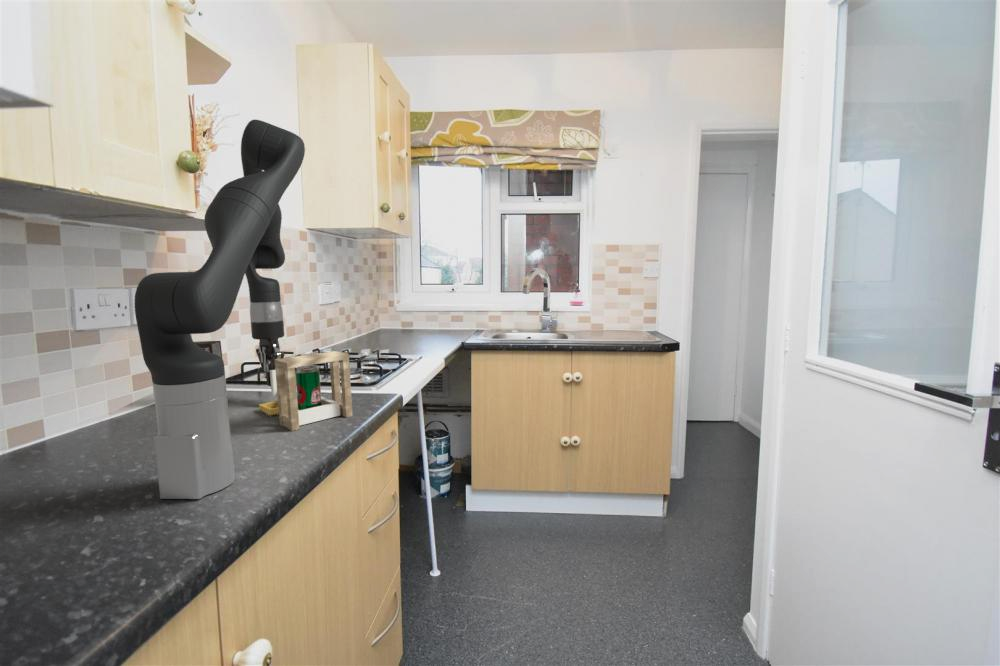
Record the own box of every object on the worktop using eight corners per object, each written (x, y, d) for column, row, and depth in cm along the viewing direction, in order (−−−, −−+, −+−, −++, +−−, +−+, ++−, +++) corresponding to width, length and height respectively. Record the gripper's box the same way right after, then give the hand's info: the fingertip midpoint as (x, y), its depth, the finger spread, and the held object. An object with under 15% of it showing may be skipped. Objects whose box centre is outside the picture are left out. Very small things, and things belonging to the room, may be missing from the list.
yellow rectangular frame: (270, 416, 108) (269, 409, 108) (259, 411, 113) (258, 404, 113) (320, 405, 117) (319, 399, 117) (307, 400, 122) (307, 394, 122)
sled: (297, 426, 101) (294, 385, 99) (260, 407, 115) (257, 372, 114) (340, 415, 108) (337, 377, 107) (299, 399, 123) (297, 366, 121)
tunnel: (292, 431, 98) (287, 362, 96) (279, 424, 102) (274, 359, 100) (352, 415, 108) (348, 353, 106) (338, 410, 112) (335, 350, 110)
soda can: (317, 420, 105) (313, 368, 103) (295, 421, 105) (291, 369, 103) (325, 414, 110) (322, 364, 108) (304, 414, 110) (301, 364, 108)
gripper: (292, 319, 117) (297, 386, 119) (272, 317, 126) (277, 379, 128) (261, 322, 112) (267, 392, 114) (242, 319, 121) (247, 384, 123)
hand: (272, 385), depth 121 cm, fingers closed
